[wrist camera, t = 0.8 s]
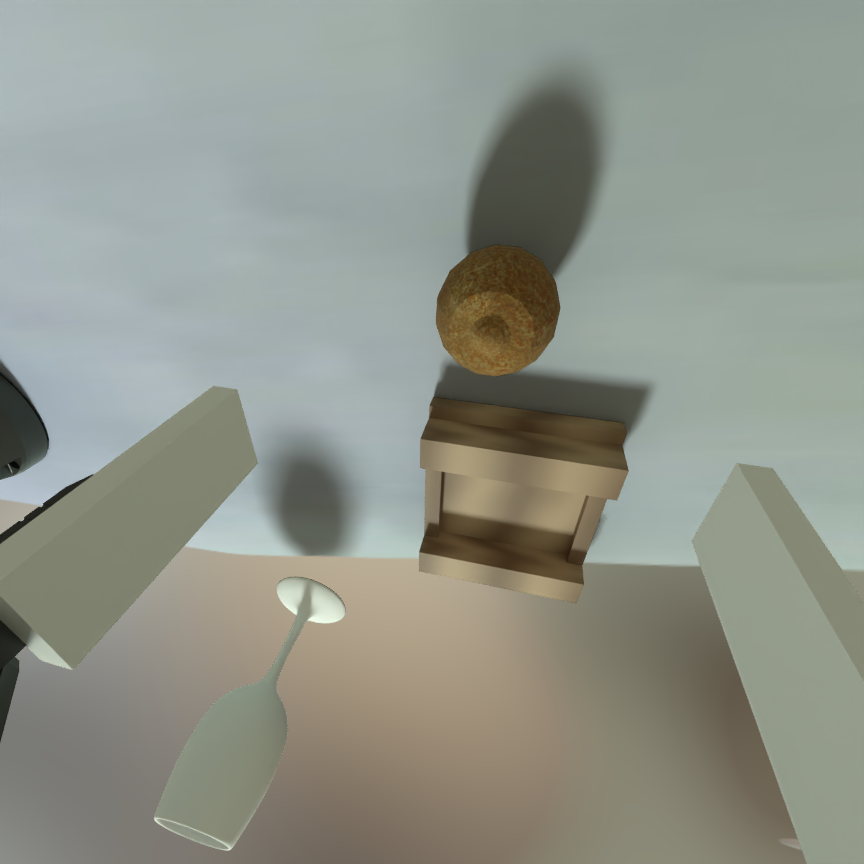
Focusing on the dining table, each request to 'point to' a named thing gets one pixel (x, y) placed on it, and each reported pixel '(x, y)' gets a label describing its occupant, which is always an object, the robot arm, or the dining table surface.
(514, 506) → the cradle
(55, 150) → the dining table surface
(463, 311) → the fruit
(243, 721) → the wineglass
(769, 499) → the robot arm
